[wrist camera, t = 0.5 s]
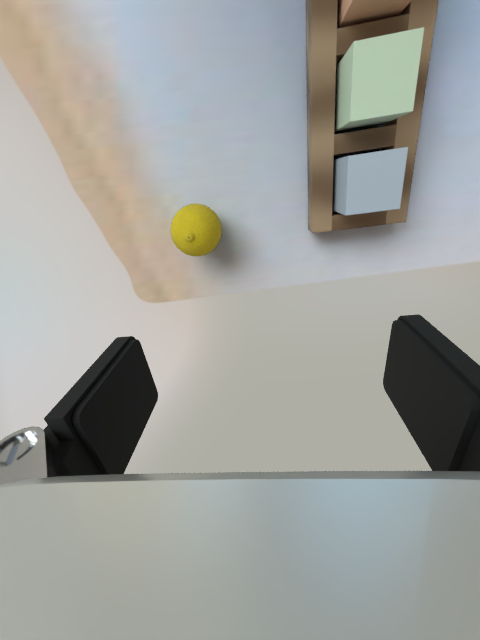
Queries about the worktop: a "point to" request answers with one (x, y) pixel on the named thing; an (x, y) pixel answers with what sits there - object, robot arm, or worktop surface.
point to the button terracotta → (368, 11)
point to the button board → (322, 144)
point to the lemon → (196, 230)
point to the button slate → (369, 181)
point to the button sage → (378, 79)
